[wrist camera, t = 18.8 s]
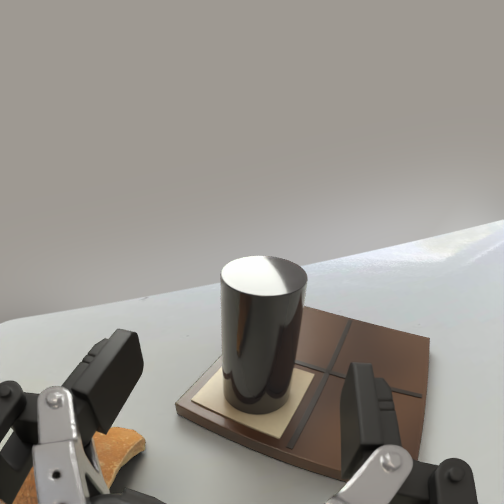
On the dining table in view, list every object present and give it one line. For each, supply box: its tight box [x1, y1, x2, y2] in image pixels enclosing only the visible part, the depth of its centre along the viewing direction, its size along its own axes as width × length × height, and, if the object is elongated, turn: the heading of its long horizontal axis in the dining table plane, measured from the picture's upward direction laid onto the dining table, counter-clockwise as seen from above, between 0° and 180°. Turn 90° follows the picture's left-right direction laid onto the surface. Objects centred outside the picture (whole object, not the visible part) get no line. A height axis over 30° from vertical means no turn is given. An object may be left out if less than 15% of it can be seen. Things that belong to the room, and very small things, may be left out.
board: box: [175, 306, 430, 482], centre depth 23 cm, size 16×16×1 cm
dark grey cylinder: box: [221, 256, 307, 415], centre depth 19 cm, size 5×5×9 cm
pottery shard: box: [12, 427, 146, 504], centre depth 12 cm, size 10×9×2 cm
